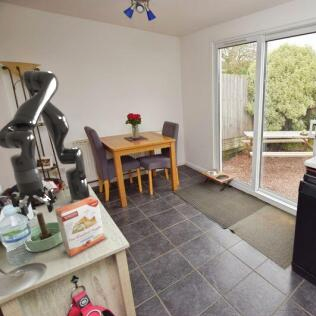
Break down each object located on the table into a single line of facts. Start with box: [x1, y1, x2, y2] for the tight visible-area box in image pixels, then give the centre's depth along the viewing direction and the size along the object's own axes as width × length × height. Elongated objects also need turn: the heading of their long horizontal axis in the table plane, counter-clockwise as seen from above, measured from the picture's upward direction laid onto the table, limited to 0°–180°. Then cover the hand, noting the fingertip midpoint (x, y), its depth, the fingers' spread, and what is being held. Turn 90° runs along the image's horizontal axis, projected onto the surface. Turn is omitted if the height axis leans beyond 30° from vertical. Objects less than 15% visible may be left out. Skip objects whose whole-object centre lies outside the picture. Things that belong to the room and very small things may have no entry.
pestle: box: [35, 212, 52, 240], centre depth 97 cm, size 4×4×14 cm
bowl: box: [25, 221, 63, 253], centre depth 99 cm, size 14×14×6 cm
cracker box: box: [54, 196, 105, 257], centre depth 95 cm, size 14×6×21 cm, turn 148°
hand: (38, 212), depth 95 cm, fingers open, 8 cm apart
